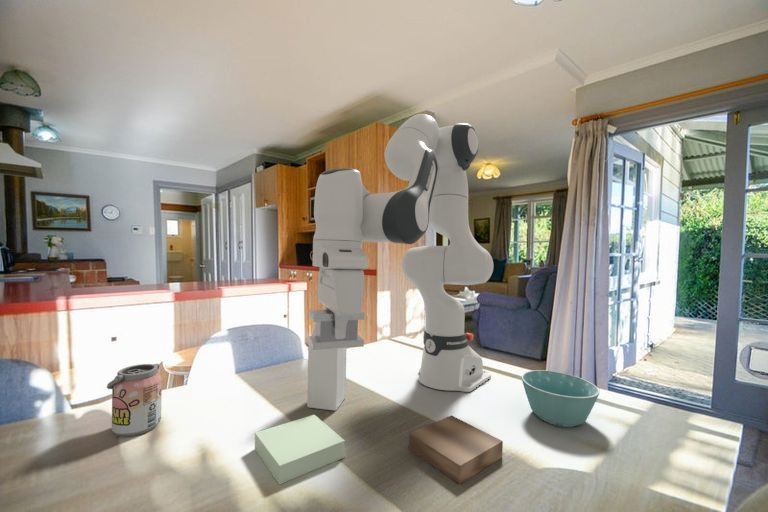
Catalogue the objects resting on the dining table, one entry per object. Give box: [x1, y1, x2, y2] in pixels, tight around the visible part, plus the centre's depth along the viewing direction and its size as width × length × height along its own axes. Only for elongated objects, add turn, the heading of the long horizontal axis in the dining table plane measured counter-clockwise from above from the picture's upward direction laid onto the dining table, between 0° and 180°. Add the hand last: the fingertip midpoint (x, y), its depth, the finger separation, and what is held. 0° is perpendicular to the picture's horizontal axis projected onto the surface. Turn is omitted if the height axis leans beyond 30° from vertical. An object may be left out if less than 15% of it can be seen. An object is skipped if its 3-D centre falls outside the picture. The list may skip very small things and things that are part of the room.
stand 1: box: [254, 414, 346, 485], centre depth 62 cm, size 12×12×3 cm
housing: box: [308, 309, 366, 350], centre depth 61 cm, size 5×9×6 cm, turn 110°
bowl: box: [521, 369, 600, 428], centre depth 77 cm, size 16×16×8 cm
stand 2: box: [408, 414, 504, 485], centre depth 63 cm, size 12×12×3 cm
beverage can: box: [106, 363, 163, 438], centre depth 69 cm, size 9×8×12 cm
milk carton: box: [306, 323, 347, 411], centre depth 82 cm, size 7×7×19 cm
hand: (335, 333), depth 61 cm, fingers closed on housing, 5 cm apart
